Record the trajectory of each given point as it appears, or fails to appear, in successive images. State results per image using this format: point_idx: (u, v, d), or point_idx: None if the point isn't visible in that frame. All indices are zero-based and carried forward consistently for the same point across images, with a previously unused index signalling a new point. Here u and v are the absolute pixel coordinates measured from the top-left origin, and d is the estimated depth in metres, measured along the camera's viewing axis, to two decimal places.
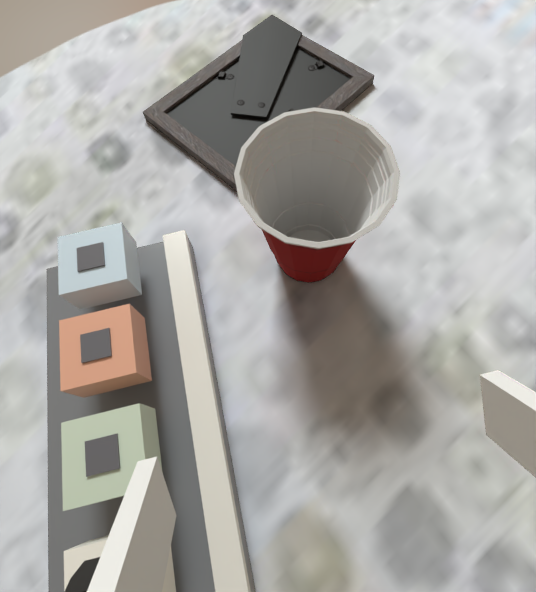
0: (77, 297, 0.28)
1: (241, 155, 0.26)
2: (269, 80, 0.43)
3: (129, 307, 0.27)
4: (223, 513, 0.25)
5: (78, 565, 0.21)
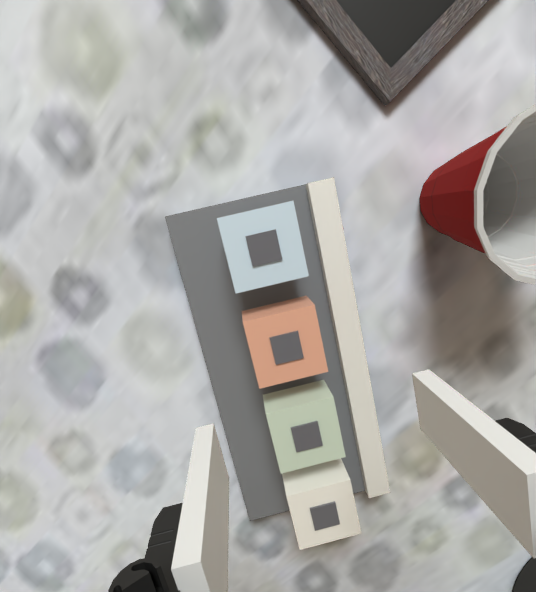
0: None
1: (490, 162, 0.20)
2: None
3: (314, 308, 0.26)
4: (373, 442, 0.33)
5: (299, 503, 0.29)
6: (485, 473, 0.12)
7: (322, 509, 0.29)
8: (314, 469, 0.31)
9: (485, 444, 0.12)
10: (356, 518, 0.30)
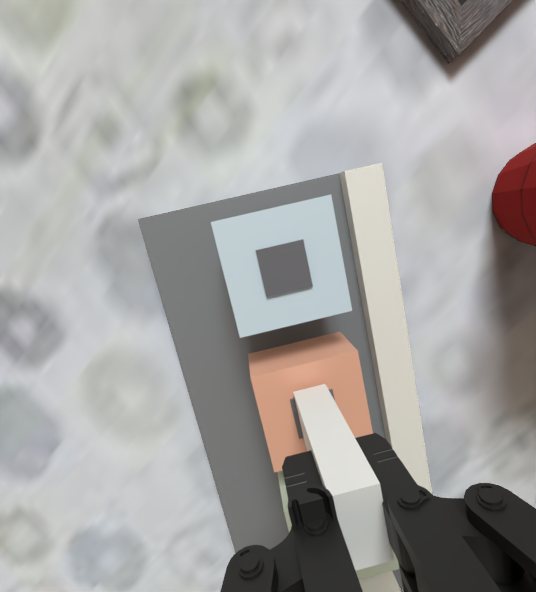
0: None
1: None
2: None
3: (357, 356, 0.17)
4: None
5: None
6: None
7: None
8: None
9: None
10: None
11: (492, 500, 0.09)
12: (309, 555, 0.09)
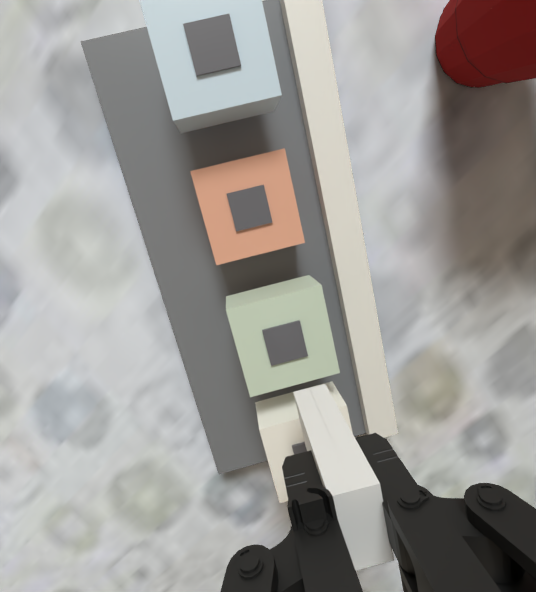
0: (193, 121, 0.18)
1: None
2: None
3: (285, 154, 0.20)
4: (375, 367, 0.26)
5: (277, 439, 0.21)
6: None
7: None
8: None
9: None
10: None
11: (492, 500, 0.09)
12: (309, 555, 0.09)
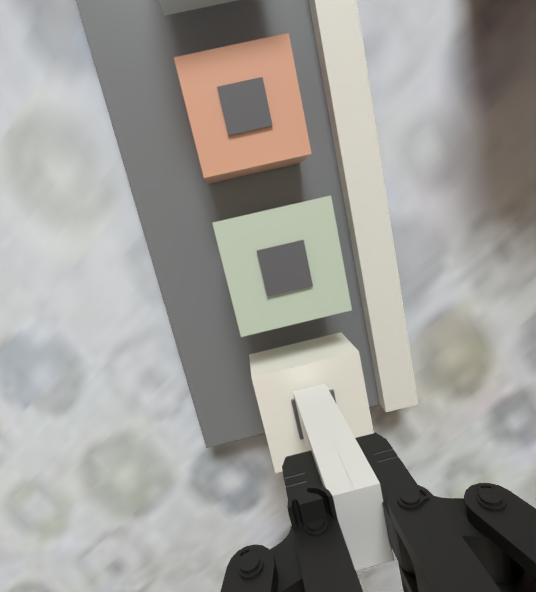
0: None
1: None
2: None
3: (288, 40, 0.16)
4: (393, 321, 0.22)
5: (273, 391, 0.17)
6: None
7: None
8: (300, 348, 0.19)
9: None
10: (368, 420, 0.18)
11: (492, 500, 0.09)
12: (309, 555, 0.09)
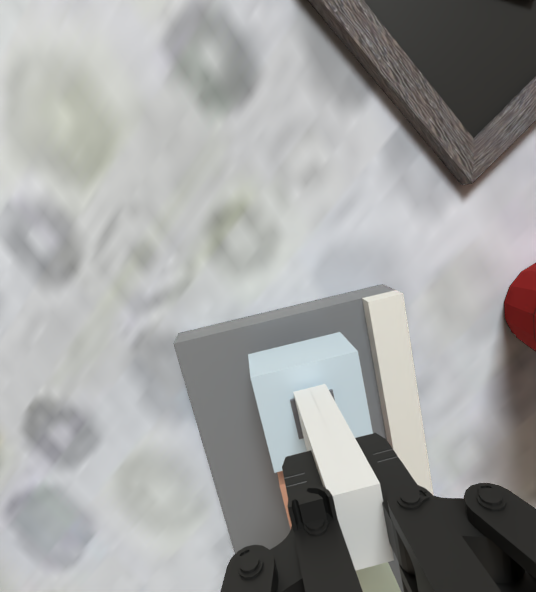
0: None
1: None
2: None
3: None
4: None
5: None
6: None
7: None
8: None
9: None
10: None
11: (492, 500, 0.09)
12: (309, 555, 0.09)
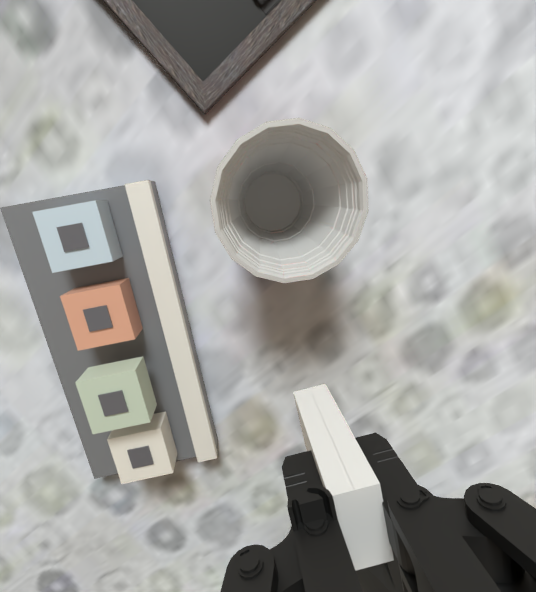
0: None
1: (217, 178, 0.25)
2: None
3: (120, 287, 0.32)
4: (198, 413, 0.38)
5: (118, 445, 0.36)
6: None
7: (137, 451, 0.36)
8: None
9: None
10: (167, 460, 0.37)
11: (492, 500, 0.09)
12: (309, 555, 0.09)
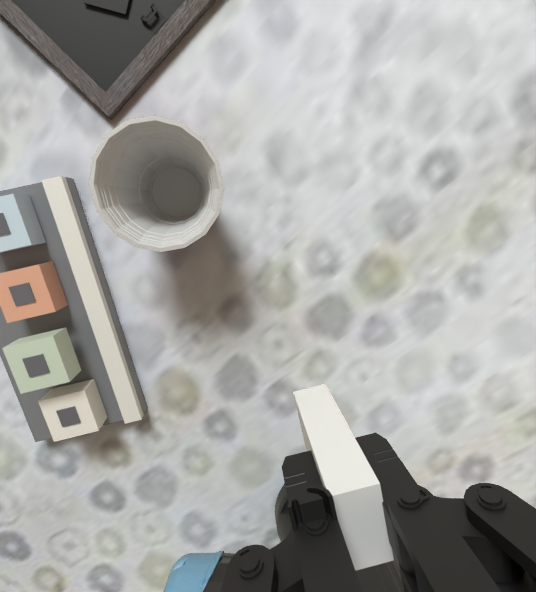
0: None
1: (93, 166, 0.31)
2: None
3: (39, 267, 0.38)
4: (121, 379, 0.44)
5: (48, 406, 0.41)
6: None
7: (65, 411, 0.41)
8: (70, 387, 0.43)
9: None
10: (93, 419, 0.42)
11: (492, 500, 0.09)
12: (309, 555, 0.09)
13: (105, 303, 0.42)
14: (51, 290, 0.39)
